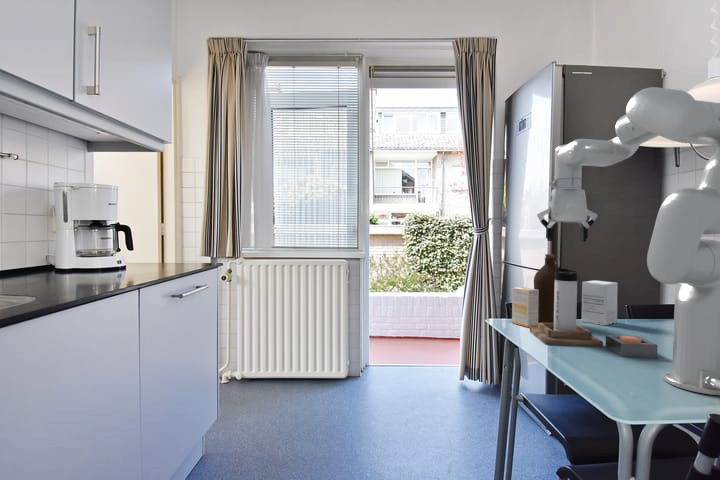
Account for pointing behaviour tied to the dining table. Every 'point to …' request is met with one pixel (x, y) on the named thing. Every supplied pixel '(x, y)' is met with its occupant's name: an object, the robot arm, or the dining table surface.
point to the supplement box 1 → (525, 306)
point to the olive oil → (546, 289)
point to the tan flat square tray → (565, 336)
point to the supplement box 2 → (599, 302)
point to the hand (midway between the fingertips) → (566, 241)
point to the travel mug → (565, 300)
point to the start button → (630, 339)
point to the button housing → (631, 347)
